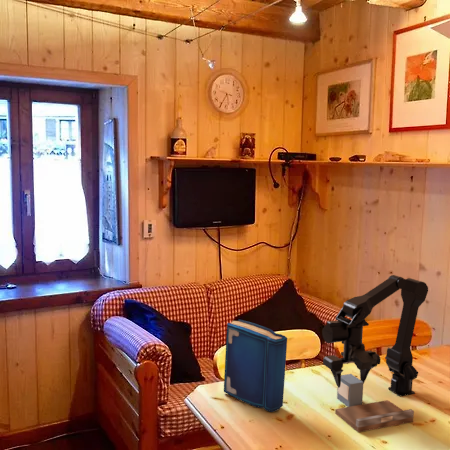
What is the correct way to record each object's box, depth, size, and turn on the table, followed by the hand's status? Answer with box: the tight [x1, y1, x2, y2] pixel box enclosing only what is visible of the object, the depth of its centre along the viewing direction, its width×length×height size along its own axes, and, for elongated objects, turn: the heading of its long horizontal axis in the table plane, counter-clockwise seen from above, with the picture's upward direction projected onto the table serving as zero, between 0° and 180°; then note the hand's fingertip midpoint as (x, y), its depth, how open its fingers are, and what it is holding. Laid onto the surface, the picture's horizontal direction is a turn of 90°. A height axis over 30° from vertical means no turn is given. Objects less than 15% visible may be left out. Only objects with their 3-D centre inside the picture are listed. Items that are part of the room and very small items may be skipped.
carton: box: [336, 373, 365, 407], centre depth 170 cm, size 5×7×8 cm
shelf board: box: [334, 399, 415, 433], centre depth 160 cm, size 20×12×4 cm, turn 111°
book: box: [223, 318, 288, 413], centre depth 168 cm, size 22×7×25 cm, turn 47°
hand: (350, 385), depth 170 cm, fingers open, 9 cm apart
